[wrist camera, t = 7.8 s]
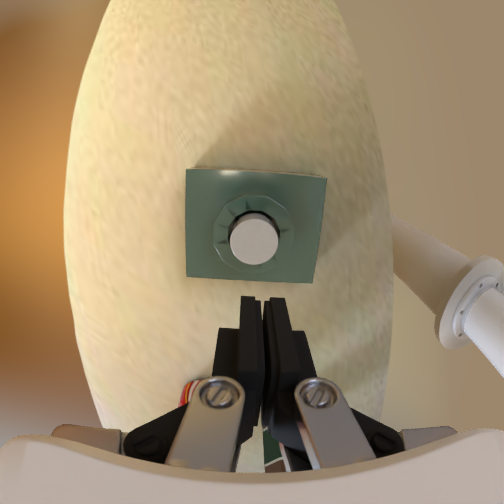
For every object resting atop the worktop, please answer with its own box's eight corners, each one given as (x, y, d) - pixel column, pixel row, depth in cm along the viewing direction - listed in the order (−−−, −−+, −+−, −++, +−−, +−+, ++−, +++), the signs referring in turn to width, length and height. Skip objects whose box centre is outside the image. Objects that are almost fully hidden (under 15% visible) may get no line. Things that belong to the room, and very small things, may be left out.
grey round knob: (277, 214, 22) (280, 220, 20) (273, 256, 23) (276, 266, 21) (232, 211, 21) (230, 217, 20) (230, 254, 23) (229, 263, 21)
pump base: (318, 175, 25) (334, 180, 20) (306, 270, 28) (317, 293, 24) (192, 167, 24) (180, 170, 20) (192, 264, 28) (181, 286, 23)
